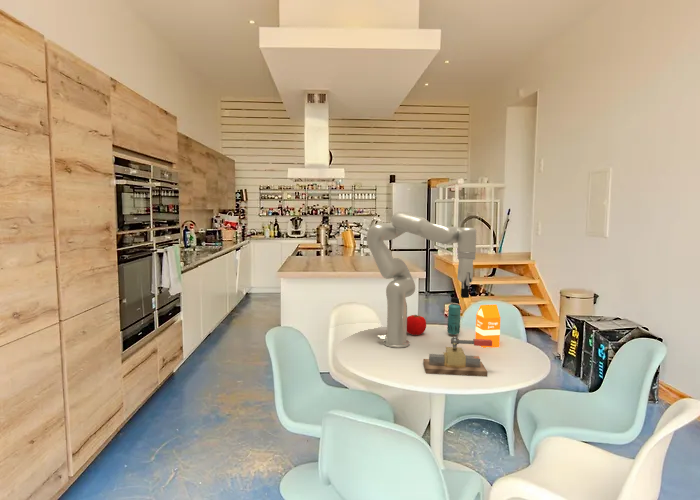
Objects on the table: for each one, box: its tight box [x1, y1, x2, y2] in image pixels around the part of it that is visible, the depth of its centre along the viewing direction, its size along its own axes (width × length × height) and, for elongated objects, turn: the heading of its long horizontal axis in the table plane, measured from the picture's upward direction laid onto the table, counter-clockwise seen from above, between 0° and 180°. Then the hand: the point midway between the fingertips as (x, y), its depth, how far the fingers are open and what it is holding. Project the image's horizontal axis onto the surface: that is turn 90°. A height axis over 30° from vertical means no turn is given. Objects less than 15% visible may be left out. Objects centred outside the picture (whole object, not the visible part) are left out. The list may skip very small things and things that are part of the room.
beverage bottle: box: [446, 297, 462, 335], centre depth 230 cm, size 6×7×20 cm
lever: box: [450, 335, 492, 347], centre depth 179 cm, size 3×16×3 cm, turn 84°
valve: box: [428, 344, 481, 368], centre depth 180 cm, size 20×6×9 cm, turn 85°
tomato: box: [407, 314, 427, 336], centre depth 233 cm, size 12×12×10 cm
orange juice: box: [474, 304, 502, 349], centre depth 214 cm, size 8×9×20 cm
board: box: [422, 358, 488, 377], centre depth 180 cm, size 24×12×2 cm, turn 85°
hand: (464, 297), depth 193 cm, fingers closed
